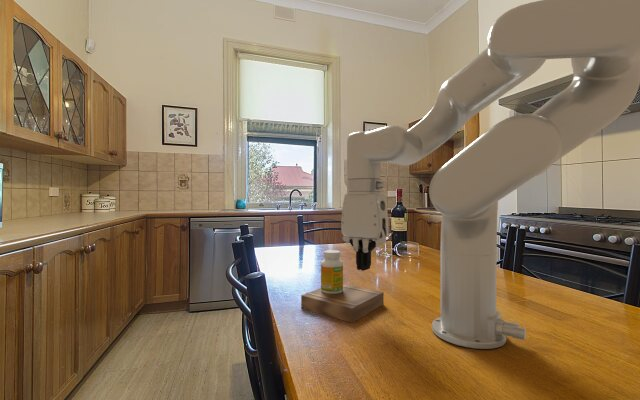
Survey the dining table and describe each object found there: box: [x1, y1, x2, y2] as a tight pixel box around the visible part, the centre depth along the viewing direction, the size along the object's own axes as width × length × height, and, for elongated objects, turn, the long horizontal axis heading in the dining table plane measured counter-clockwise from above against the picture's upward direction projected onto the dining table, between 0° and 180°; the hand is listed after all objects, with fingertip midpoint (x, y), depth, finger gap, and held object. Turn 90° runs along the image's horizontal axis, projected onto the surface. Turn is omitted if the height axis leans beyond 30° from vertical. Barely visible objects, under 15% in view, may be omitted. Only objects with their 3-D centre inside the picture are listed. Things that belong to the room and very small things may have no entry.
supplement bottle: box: [320, 249, 344, 294], centre depth 76 cm, size 5×5×10 cm
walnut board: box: [300, 283, 385, 323], centre depth 74 cm, size 14×14×3 cm
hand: (363, 269), depth 71 cm, fingers closed
